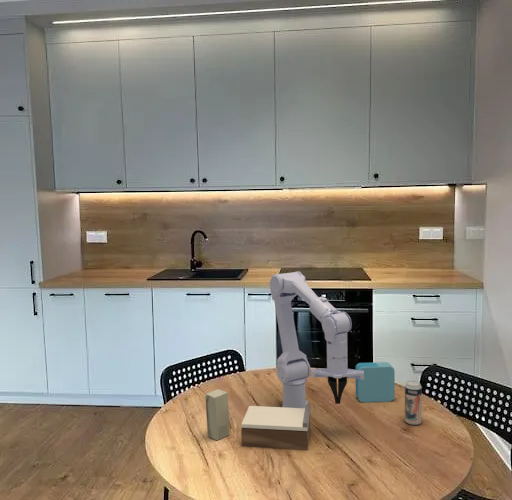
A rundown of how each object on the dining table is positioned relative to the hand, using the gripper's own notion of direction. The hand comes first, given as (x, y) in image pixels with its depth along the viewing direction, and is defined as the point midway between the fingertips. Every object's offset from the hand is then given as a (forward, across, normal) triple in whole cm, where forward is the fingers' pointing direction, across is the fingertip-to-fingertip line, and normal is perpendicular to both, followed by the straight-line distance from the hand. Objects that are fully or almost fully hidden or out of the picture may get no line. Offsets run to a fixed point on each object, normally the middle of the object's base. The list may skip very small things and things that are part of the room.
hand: (337, 402), depth 137 cm
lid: (+4, -17, -4) cm, 18 cm away
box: (+10, -34, -5) cm, 36 cm away
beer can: (+10, +22, +10) cm, 26 cm away
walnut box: (+9, -17, -4) cm, 20 cm away
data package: (+10, +12, +26) cm, 30 cm away
